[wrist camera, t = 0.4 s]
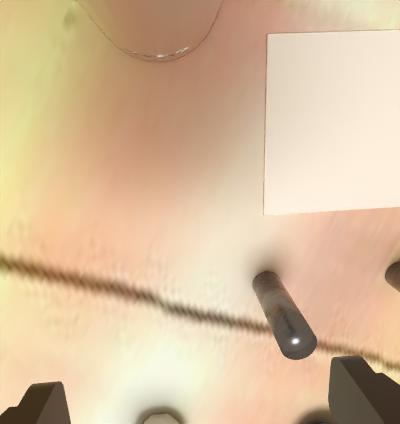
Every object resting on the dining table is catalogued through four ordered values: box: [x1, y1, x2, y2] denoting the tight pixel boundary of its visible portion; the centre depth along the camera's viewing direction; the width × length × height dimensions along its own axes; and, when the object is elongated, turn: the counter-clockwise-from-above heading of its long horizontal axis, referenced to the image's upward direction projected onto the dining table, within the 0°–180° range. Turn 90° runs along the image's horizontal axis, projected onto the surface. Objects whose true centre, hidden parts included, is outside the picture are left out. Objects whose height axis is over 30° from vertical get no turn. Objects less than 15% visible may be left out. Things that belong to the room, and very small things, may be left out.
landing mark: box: [263, 30, 400, 215], centre depth 24 cm, size 14×14×1 cm
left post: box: [253, 272, 317, 360], centre depth 24 cm, size 3×3×8 cm
